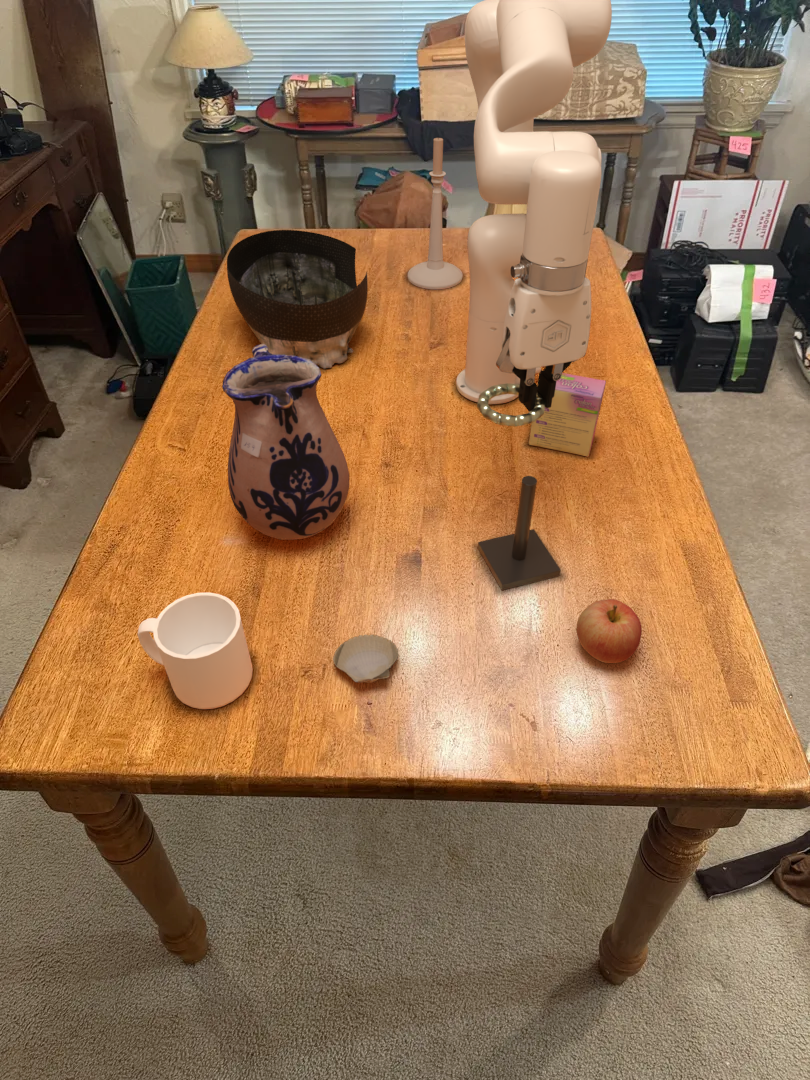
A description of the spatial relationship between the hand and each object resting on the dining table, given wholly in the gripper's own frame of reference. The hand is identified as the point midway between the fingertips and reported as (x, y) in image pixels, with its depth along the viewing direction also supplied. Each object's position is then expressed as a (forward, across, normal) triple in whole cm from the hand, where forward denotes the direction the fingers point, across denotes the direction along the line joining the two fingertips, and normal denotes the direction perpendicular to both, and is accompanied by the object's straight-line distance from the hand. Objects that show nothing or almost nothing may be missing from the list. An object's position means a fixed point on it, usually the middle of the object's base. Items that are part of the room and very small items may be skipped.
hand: (535, 403), depth 101 cm
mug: (+22, -50, -14) cm, 56 cm away
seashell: (+22, -30, -18) cm, 41 cm away
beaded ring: (-1, -4, 0) cm, 4 cm away
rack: (+22, -4, -7) cm, 23 cm away
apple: (+22, +1, -25) cm, 34 cm away
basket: (+21, -19, +68) cm, 73 cm away
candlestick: (+21, +16, +84) cm, 88 cm away
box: (+22, +15, +17) cm, 31 cm away
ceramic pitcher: (+22, -33, +13) cm, 41 cm away
